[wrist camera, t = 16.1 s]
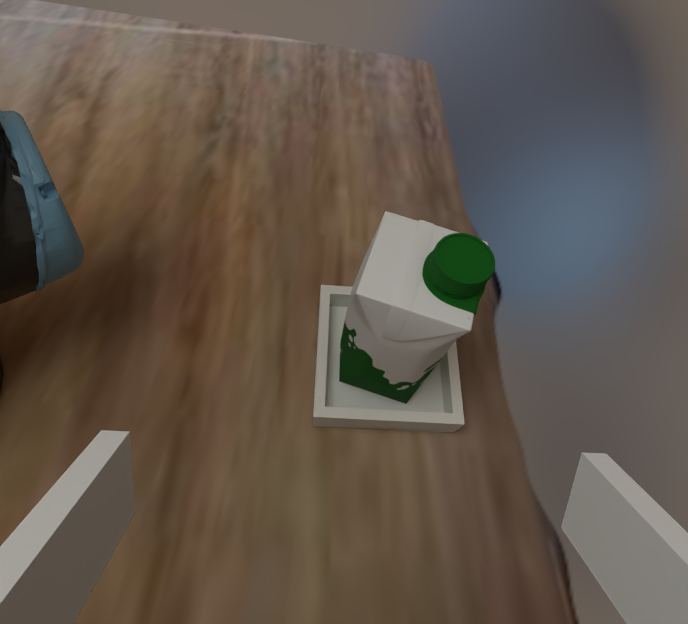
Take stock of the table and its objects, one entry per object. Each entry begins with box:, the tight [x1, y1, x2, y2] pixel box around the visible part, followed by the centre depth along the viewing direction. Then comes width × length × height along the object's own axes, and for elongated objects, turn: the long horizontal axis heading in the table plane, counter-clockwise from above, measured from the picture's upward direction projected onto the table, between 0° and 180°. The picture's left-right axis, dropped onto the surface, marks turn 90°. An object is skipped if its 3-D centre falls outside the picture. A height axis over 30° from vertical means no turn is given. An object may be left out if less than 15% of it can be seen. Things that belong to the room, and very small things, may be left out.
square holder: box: [312, 285, 464, 433], centre depth 45 cm, size 14×14×4 cm
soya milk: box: [339, 211, 495, 404], centre depth 37 cm, size 9×9×20 cm
